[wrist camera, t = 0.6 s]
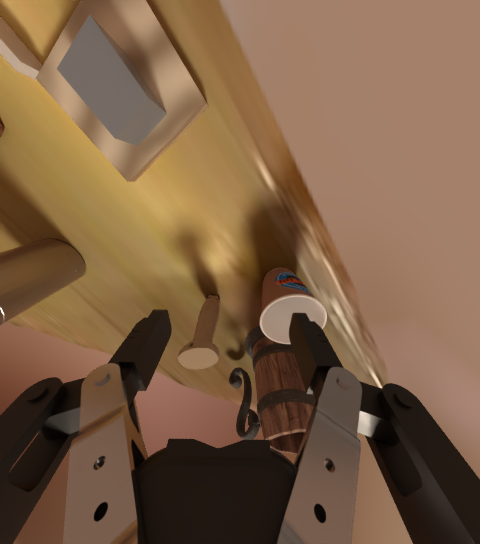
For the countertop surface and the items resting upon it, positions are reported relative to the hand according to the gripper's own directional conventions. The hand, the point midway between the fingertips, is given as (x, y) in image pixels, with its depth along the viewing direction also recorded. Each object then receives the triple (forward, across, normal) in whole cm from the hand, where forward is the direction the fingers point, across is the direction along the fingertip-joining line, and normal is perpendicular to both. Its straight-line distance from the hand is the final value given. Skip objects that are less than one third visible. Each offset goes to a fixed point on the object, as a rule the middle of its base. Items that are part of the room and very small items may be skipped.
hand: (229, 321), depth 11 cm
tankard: (+24, -8, +33) cm, 42 cm away
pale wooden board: (+24, +15, -18) cm, 33 cm away
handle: (+24, +5, +16) cm, 30 cm away
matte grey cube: (+22, +14, -17) cm, 31 cm away
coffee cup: (+24, -9, +11) cm, 28 cm away
